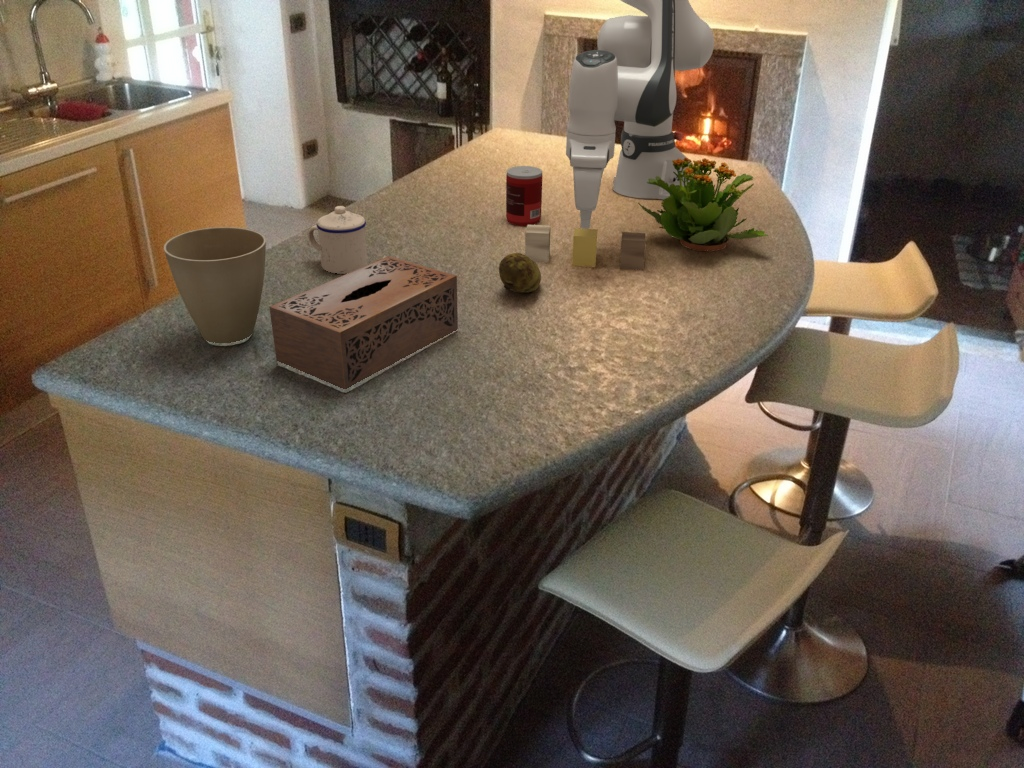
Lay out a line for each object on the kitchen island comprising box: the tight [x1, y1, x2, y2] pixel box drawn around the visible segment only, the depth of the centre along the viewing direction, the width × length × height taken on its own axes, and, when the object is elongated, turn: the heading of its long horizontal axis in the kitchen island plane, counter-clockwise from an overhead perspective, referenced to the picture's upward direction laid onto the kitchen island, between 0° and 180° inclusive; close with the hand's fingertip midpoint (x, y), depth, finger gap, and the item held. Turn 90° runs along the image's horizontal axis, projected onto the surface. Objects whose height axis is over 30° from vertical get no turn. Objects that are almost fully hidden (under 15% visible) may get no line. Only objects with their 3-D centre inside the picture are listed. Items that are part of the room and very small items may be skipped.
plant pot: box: [163, 226, 267, 343], centre depth 140 cm, size 15×15×16 cm
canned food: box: [505, 165, 543, 227], centre depth 193 cm, size 8×8×11 cm
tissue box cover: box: [269, 255, 459, 389], centre depth 139 cm, size 26×14×10 cm, turn 144°
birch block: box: [524, 224, 552, 264], centre depth 174 cm, size 4×4×6 cm
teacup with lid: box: [307, 205, 368, 275], centre depth 168 cm, size 12×9×12 cm
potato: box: [498, 252, 542, 294], centre depth 159 cm, size 8×13×8 cm, turn 151°
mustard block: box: [571, 227, 599, 268], centre depth 173 cm, size 4×4×6 cm
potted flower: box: [637, 156, 769, 253], centre depth 179 cm, size 25×24×18 cm
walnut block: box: [619, 231, 647, 272], centre depth 171 cm, size 4×4×6 cm
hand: (586, 219), depth 170 cm, fingers open, 8 cm apart
